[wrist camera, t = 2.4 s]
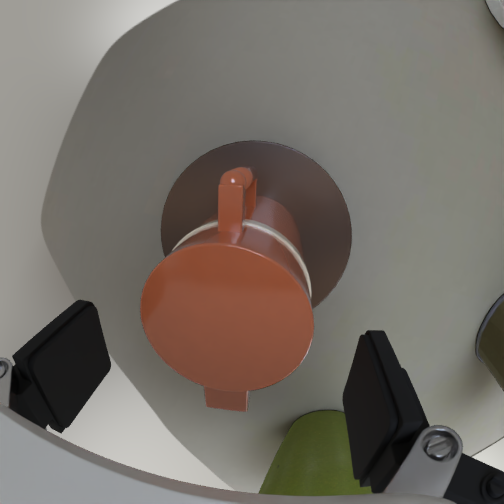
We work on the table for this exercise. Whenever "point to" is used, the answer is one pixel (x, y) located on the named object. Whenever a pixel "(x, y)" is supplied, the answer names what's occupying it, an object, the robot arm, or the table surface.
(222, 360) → the jug
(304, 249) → the turntable
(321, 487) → the flower pot
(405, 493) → the robot arm
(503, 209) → the table surface
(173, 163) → the table surface
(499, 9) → the white cup
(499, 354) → the canister
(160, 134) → the table surface
